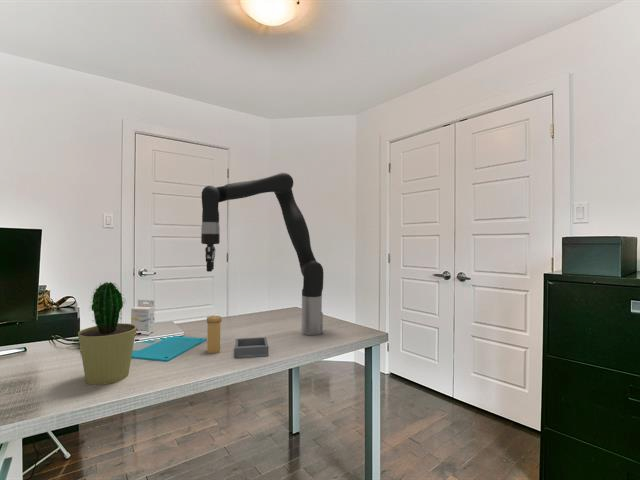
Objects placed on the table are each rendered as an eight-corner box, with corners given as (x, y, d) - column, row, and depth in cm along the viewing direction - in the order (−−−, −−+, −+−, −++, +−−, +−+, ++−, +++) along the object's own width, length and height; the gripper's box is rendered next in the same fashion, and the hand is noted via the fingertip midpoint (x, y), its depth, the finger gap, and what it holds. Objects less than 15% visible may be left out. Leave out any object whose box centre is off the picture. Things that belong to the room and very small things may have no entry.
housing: (265, 345, 136) (266, 337, 136) (268, 355, 125) (268, 346, 125) (235, 347, 134) (235, 338, 134) (235, 358, 122) (235, 348, 122)
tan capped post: (221, 348, 133) (221, 315, 133) (220, 352, 128) (221, 318, 128) (207, 348, 132) (207, 316, 132) (205, 353, 127) (206, 319, 127)
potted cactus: (142, 377, 104) (143, 280, 104) (82, 393, 94) (82, 285, 93) (129, 364, 115) (129, 276, 115) (73, 376, 105) (74, 279, 105)
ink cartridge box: (130, 334, 150) (130, 301, 150) (137, 331, 155) (137, 299, 155) (148, 335, 150) (148, 301, 149) (154, 332, 154) (155, 299, 154)
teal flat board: (167, 362, 118) (167, 359, 118) (99, 356, 124) (99, 353, 124) (207, 340, 144) (207, 338, 144) (149, 336, 149) (149, 334, 149)
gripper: (218, 232, 139) (218, 272, 139) (220, 233, 153) (220, 269, 153) (199, 232, 138) (199, 272, 138) (203, 233, 151) (202, 269, 152)
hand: (210, 270), depth 145 cm, fingers open, 8 cm apart
